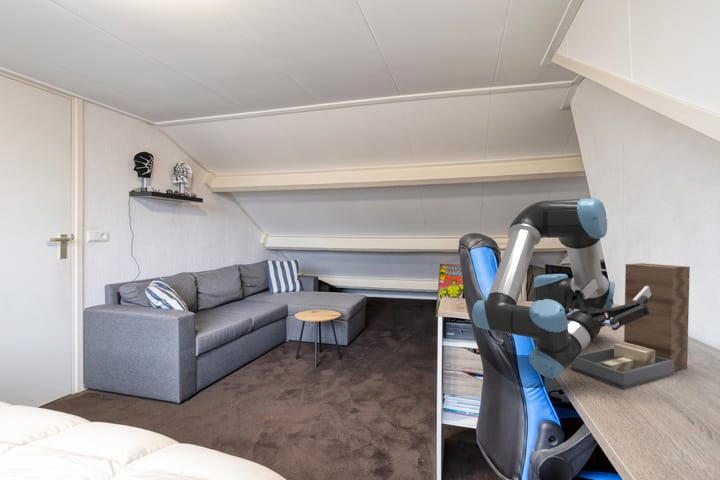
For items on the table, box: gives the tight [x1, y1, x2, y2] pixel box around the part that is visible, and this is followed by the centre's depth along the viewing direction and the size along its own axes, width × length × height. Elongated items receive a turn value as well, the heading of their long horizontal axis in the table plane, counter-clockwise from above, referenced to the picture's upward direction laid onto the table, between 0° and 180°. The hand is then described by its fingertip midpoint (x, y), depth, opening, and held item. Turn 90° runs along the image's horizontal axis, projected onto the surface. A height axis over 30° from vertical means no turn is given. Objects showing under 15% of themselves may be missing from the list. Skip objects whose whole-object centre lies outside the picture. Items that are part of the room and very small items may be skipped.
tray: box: [570, 346, 675, 391], centre depth 99 cm, size 23×14×4 cm, turn 114°
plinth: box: [623, 262, 691, 373], centre depth 105 cm, size 9×12×30 cm
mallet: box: [601, 341, 655, 372], centre depth 99 cm, size 16×8×6 cm, turn 114°
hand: (620, 286), depth 98 cm, fingers open, 13 cm apart
